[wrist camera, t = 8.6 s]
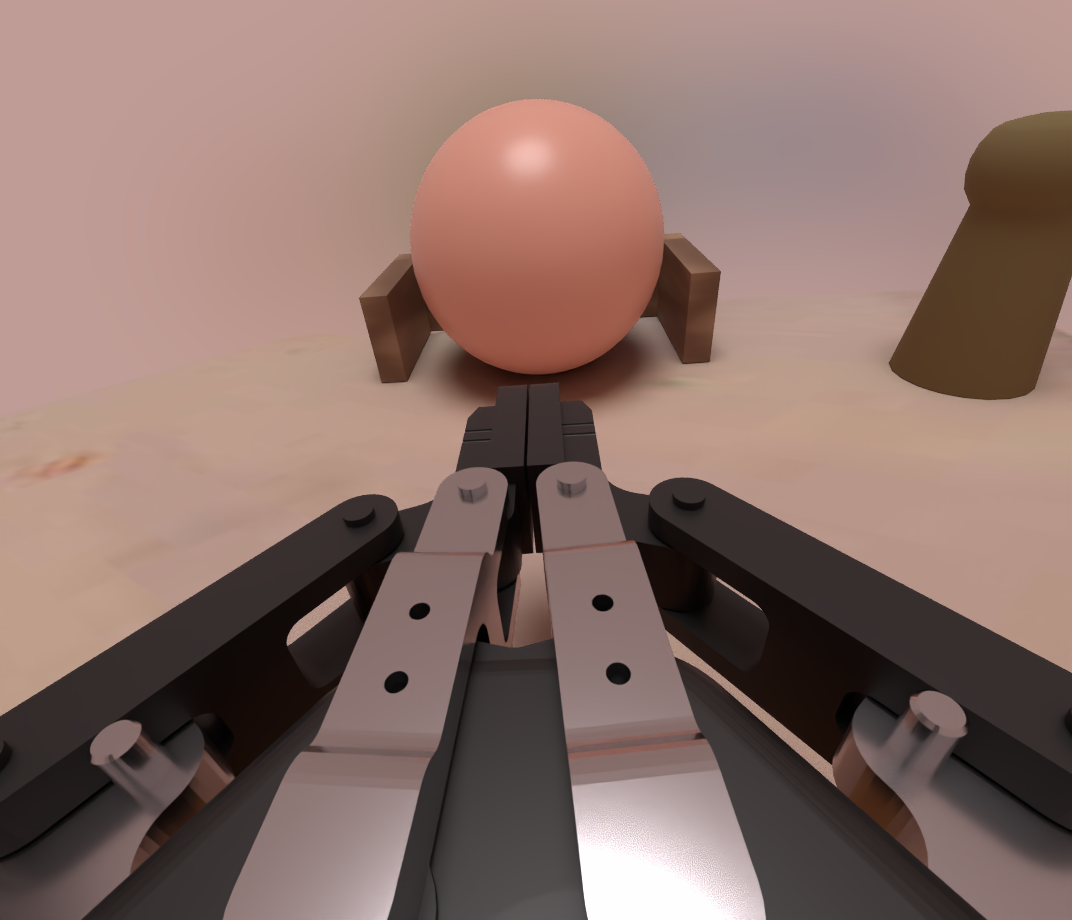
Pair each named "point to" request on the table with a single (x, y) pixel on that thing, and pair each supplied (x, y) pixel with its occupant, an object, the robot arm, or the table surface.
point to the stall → (676, 300)
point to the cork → (999, 268)
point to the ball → (537, 236)
